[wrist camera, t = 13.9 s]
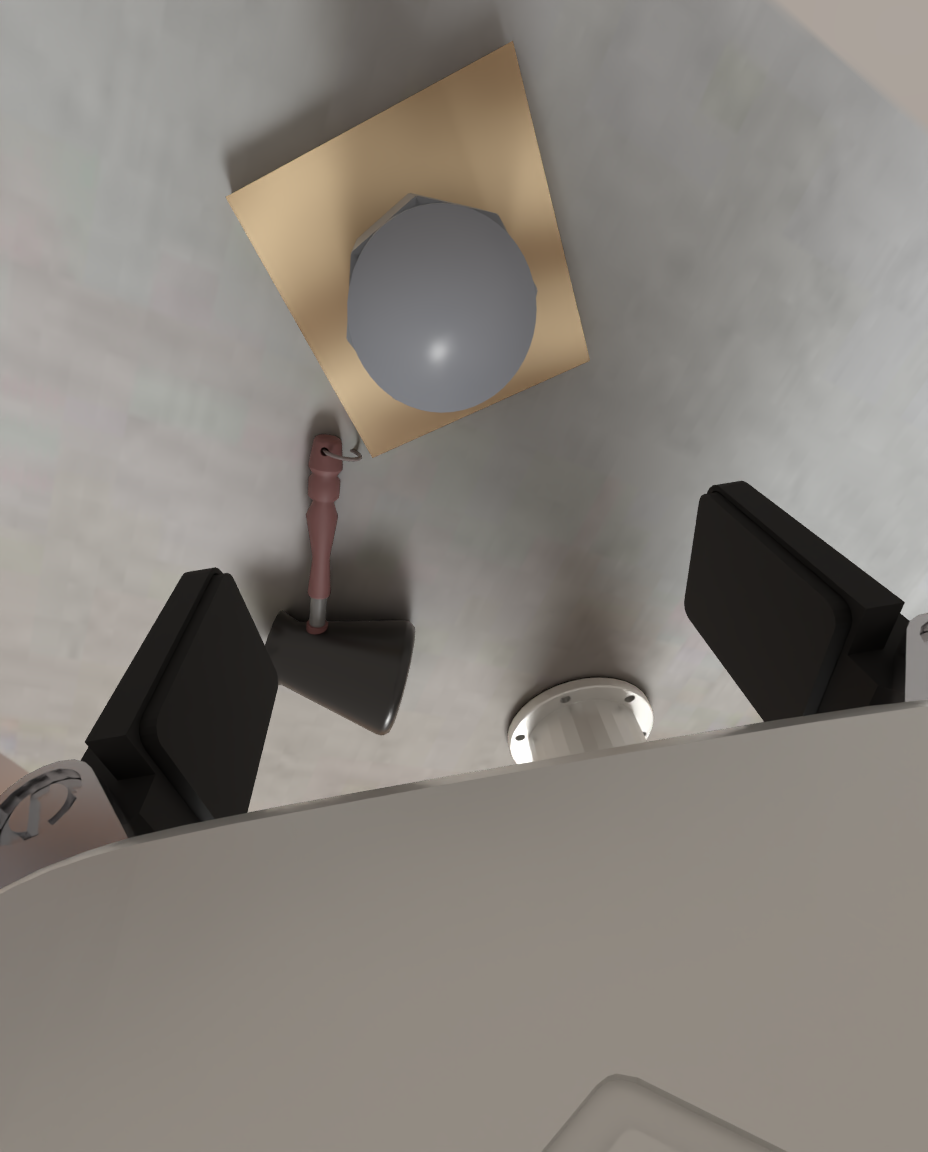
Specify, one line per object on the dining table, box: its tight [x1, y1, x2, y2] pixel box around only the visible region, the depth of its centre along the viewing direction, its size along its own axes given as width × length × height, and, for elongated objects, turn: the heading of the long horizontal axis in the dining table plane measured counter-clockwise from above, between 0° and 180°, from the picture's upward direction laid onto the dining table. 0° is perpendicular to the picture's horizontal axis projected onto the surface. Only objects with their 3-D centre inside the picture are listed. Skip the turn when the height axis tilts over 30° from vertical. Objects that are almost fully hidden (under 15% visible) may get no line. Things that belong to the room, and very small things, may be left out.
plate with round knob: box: [226, 41, 590, 458], centre depth 22 cm, size 12×12×7 cm
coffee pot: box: [265, 434, 415, 735], centre depth 32 cm, size 8×18×8 cm
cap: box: [346, 193, 538, 413], centre depth 20 cm, size 6×6×6 cm
